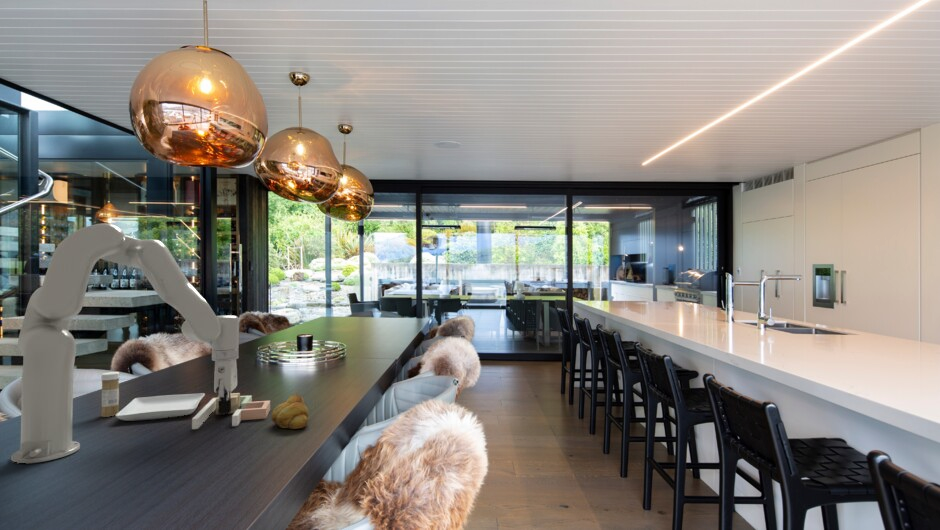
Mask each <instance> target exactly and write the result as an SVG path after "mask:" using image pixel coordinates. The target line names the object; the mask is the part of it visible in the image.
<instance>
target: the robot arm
mask: <svg viewBox="0 0 940 530" xmlns="http://www.w3.org/2000/svg"><path fill="white" fill-rule="evenodd" d="M99 260H104V261H108V262H111V263H115V264H118V265H123V266H126V267H131V268H135V269H140V270H141V272H142V273H143V275H144V276H145V277H146V279H147V281H149V284H150V285H151V286H152V288H153V290H154V291H155V293H156V294H157V296H158V297H159V298H160V299H161V300H162V301H164V302H165V303H166V304H168V305H169V306H171V307H172V308H174V309H175V310H176V311H177V312H178V313H179V314H180V315H181V316H182V317H183V318H184V320H185V321H183V323H182V324H181V333H182V334H183V336H184V337H185V338H187V339H188V340H190V341H195V342H199V343H204V344H205V343H211V361H213V362H214V372H213V373H214V378H213V379H214V380H213V382H214V383H213V386H214V387H213V389H214V390H213V391H214V393H216V394H217V393H218V396H219V411H218V413H219V414H218V415H225V414H224V413H228V414H231V413H230V411H231V393H232V392H233V391H234V390H235V389H236V388H237V386H238V368H237V365H238V364H237V359H239V358H240V357H239V344H240V342H239V340H240V339H239V337H240V335H239V334H240V333H239V332H240V321H239V317H238V316H237V315H232V314H227V315H226V314H222V315H216V313H215V312H214V310H213V309H212V307H211V305H210V304H209V303H208V301H207V300H206V299H205V298H204V297H203V296H202V295H201V294H200V292H199V291H198V290H197V289H196V288H195V287H194V286H193V284H192V283H190V281H189V280H188V279H187V277H186V275H185V273H184V272H183V271H182V268H181V267H180V266H179V264H178V263H177V261H176V259H175V258H174V256H173V254H172V253H171V251H170V250H169V248H168V247H167V245H165V243H164V242H162V241H160V240H159V239H153V238H152V239H149V238H148V239H139V238H135V237H133V236H129V235H127V234H126V235H125V233H124V231H123V230H122V229H121V228H120V227H119V226H116V225H115V224H112V223H103V222H102V223H97V224H96V223H95V224H92V225H87V226H85V227H82V228H79V229H77V230H75V231H73V232H72V233H70V234H69V235H68V236H66V237H65V238H63V240H62V241H61V242H60V243H59V244H58V245H57V247H56V248H55V250H54V252H53V253H52V256H51V258H50V261H49V263H48V267H47V270H46V273H45V277H44V280H43V282H42V285H41V286H40V287H38V288H36V290H35V291H34V292H33V293H32V295H31V296H30V297H29V300H28V303H27V306H26V309H25V313H24V317H23V321H22V324H21V327H20V332H19V335H18V339H17V348H18V350H19V352H20V353H21V355H22V357H23V360H22V361H23V362H22V363H23V364H22V374H21V376H22V377H21V405H20V407H21V412H20V413H21V414H20V415H21V416H20V417H21V418H20V448H19V449H18V450H17V451H16V452H14V453H12V455H11V458H10V460H12V461H14V462H17V463H16V464H19V463H26V464H37V463H43V462H49V461H52V460H57V459H60V458H64V457H66V456H69V455H72V454H74V453H76V452H78V451H79V450H80V448H81V443H80V442H78V441H74V440H73V418H74V417H73V414H74V413H73V412H74V411H73V410H74V409H73V408H74V406H73V405H74V370H75V369H74V368H75V360H76V353H77V345H76V340H75V338H74V335H73V334H72V333H71V332H70V326H71V323H72V319H73V318H74V317H77V316H78V314H80V312H81V311H82V308H83V306H84V301H85V297H86V292H87V288H88V284H89V281H90V277H91V274H92V271H93V269H94V267H95V265H96V263H97V262H98V261H99ZM12 461H11V462H12ZM14 462H13V463H14Z"/></svg>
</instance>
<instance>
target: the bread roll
mask: <svg viewBox="0 0 940 530" xmlns="http://www.w3.org/2000/svg"><path fill="white" fill-rule="evenodd" d="M271 421H272V423H274V424H276V425H277V426H278V427H280V428H282V429H292V430H297V429H298V430H299V429H303V428H305V427H306V426H307V424H308V422H309V411H308V407H307V405H306V404H305V402H304V399H303V397H302V396H301V395H299V394H297V393H296V394H294V395H290V396H289V398H288V399H287V400H285V402H281V404H280V403H279V404H278V405H277V406H276V407H275V408H273V410H272V412H271Z"/></svg>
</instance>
